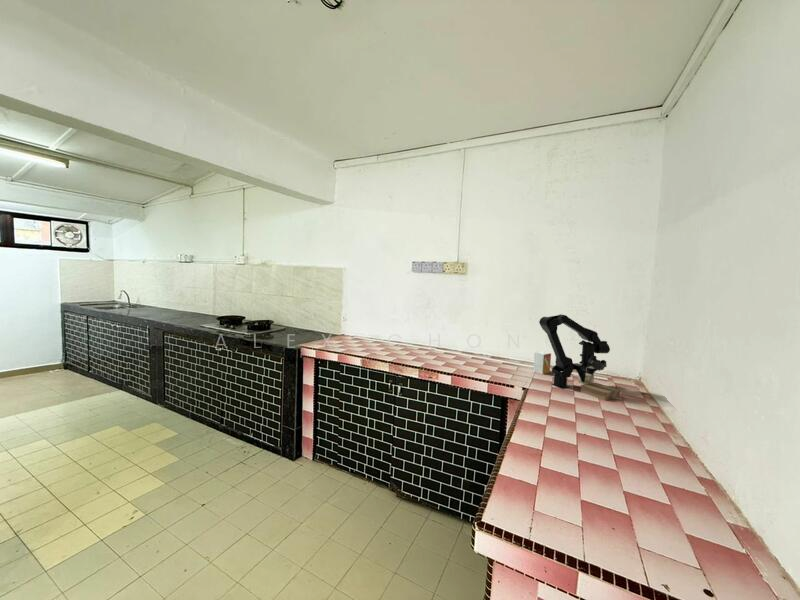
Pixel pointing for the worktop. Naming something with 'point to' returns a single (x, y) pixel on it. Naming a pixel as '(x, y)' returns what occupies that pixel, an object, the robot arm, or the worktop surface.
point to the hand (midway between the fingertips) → (586, 381)
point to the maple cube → (587, 379)
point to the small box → (542, 362)
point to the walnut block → (600, 391)
